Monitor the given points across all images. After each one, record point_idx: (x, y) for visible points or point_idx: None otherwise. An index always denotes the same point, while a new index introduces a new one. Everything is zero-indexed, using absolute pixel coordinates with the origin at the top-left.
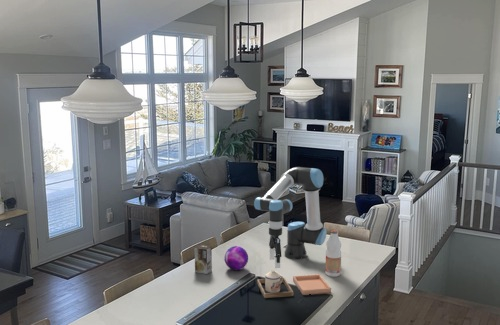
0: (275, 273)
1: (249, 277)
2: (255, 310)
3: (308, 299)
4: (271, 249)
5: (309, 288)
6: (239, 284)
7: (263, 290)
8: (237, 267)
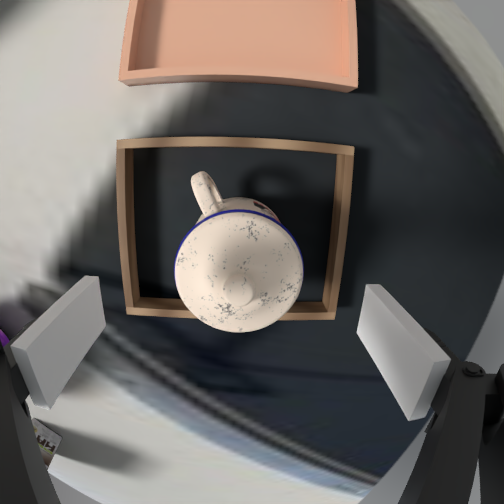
0: (260, 269)
1: None
2: None
3: (400, 88)
4: (47, 389)
5: (285, 26)
6: (145, 379)
7: (289, 315)
8: None
